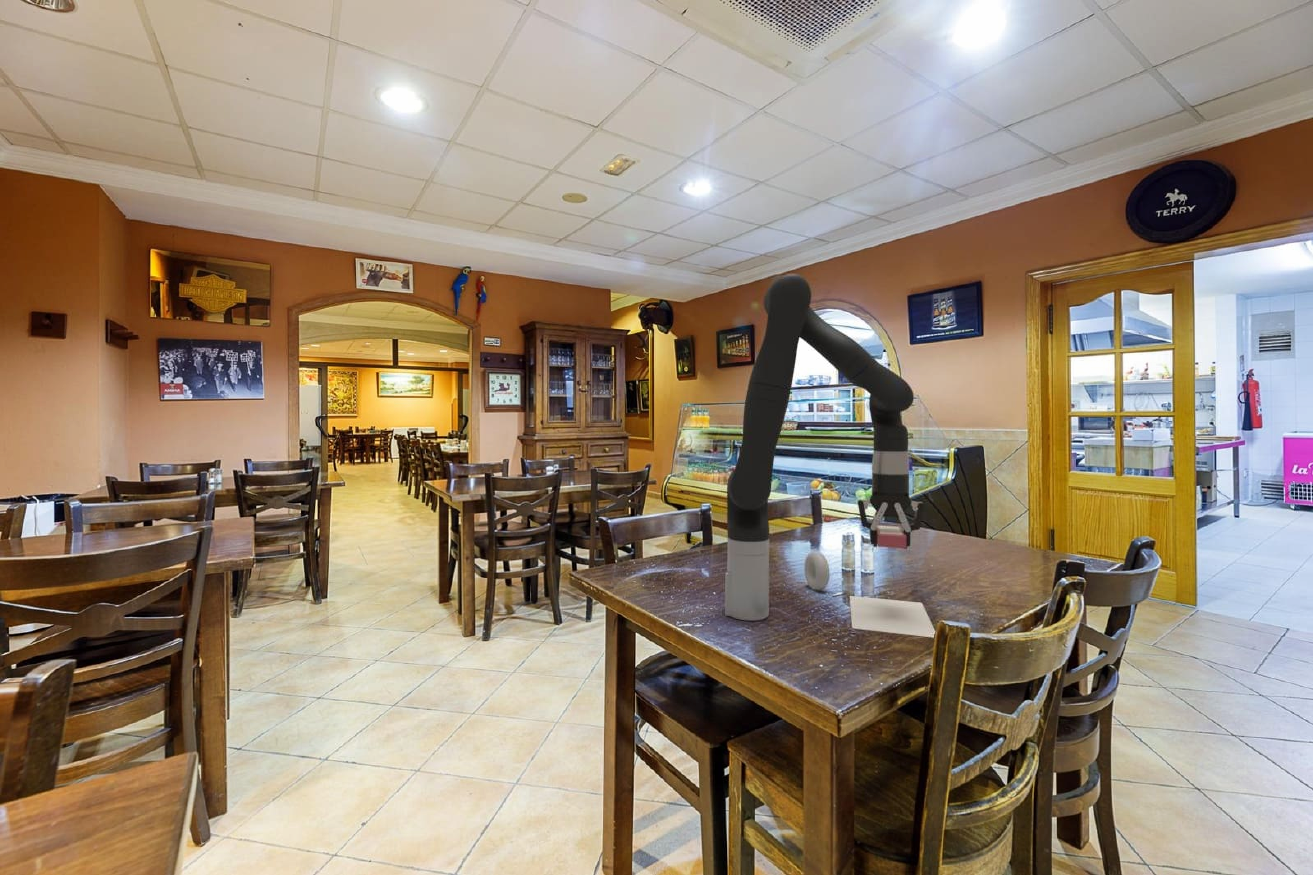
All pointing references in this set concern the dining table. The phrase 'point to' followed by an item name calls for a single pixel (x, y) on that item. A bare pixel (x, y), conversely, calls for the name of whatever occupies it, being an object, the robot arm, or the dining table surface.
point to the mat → (890, 616)
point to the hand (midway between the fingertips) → (889, 547)
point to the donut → (816, 571)
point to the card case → (890, 536)
